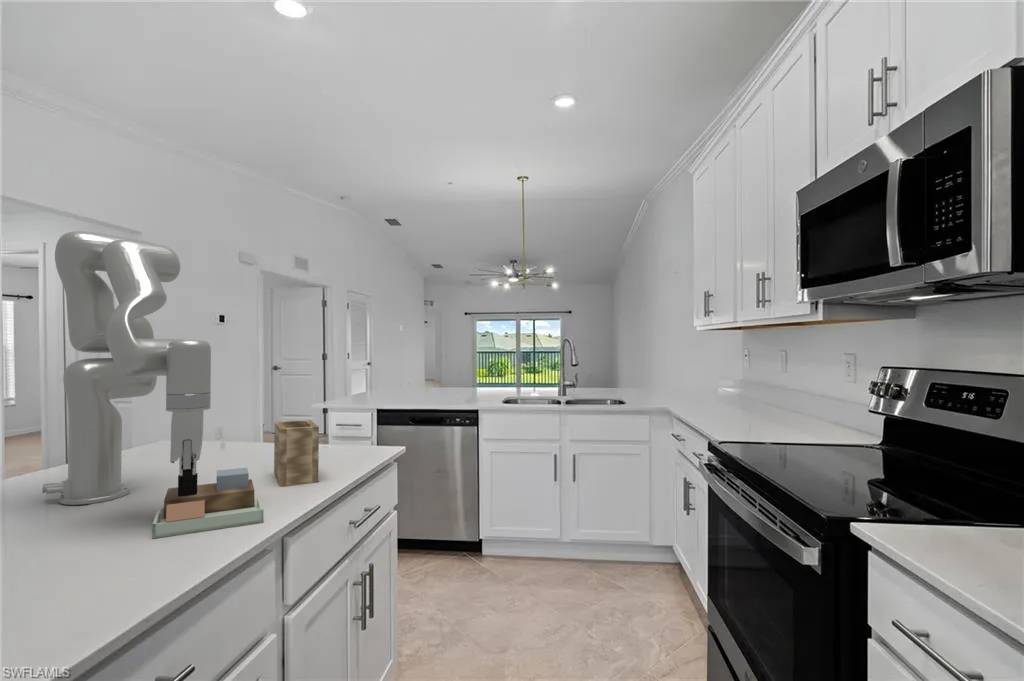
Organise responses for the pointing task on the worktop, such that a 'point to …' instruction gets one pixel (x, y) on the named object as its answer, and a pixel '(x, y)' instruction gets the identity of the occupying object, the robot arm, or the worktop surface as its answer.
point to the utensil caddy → (296, 452)
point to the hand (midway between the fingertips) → (187, 494)
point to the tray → (207, 521)
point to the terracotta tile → (185, 510)
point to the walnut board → (215, 498)
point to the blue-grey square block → (232, 479)
